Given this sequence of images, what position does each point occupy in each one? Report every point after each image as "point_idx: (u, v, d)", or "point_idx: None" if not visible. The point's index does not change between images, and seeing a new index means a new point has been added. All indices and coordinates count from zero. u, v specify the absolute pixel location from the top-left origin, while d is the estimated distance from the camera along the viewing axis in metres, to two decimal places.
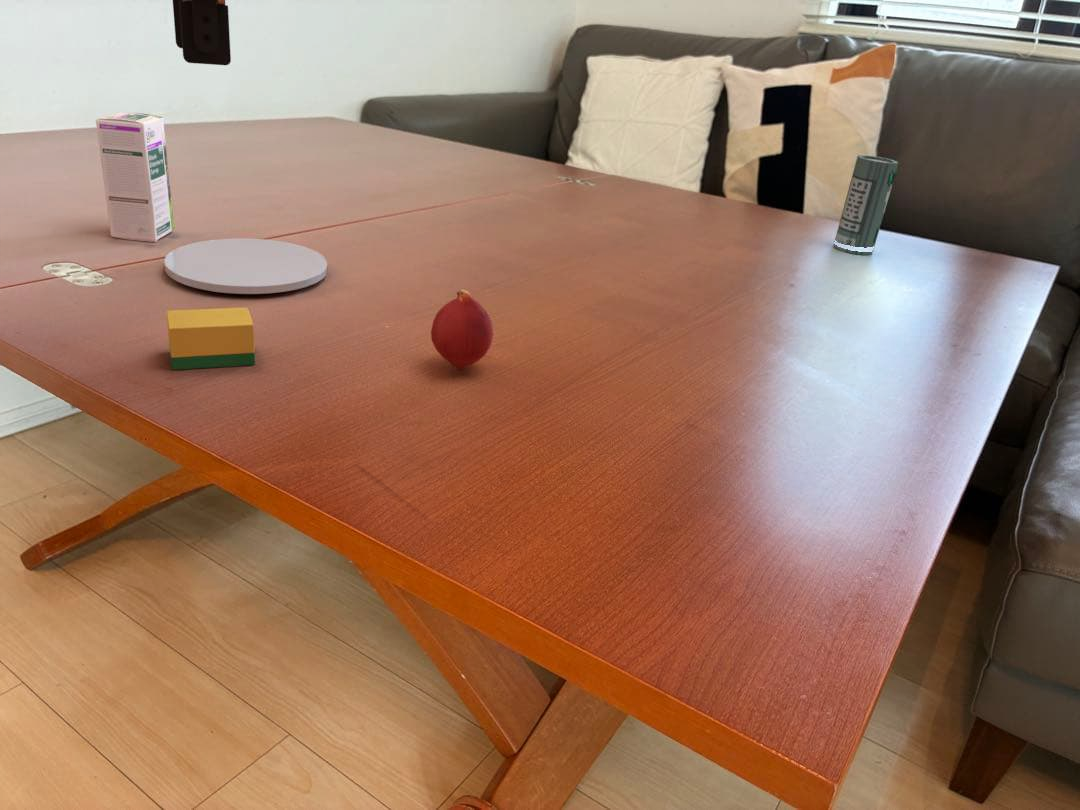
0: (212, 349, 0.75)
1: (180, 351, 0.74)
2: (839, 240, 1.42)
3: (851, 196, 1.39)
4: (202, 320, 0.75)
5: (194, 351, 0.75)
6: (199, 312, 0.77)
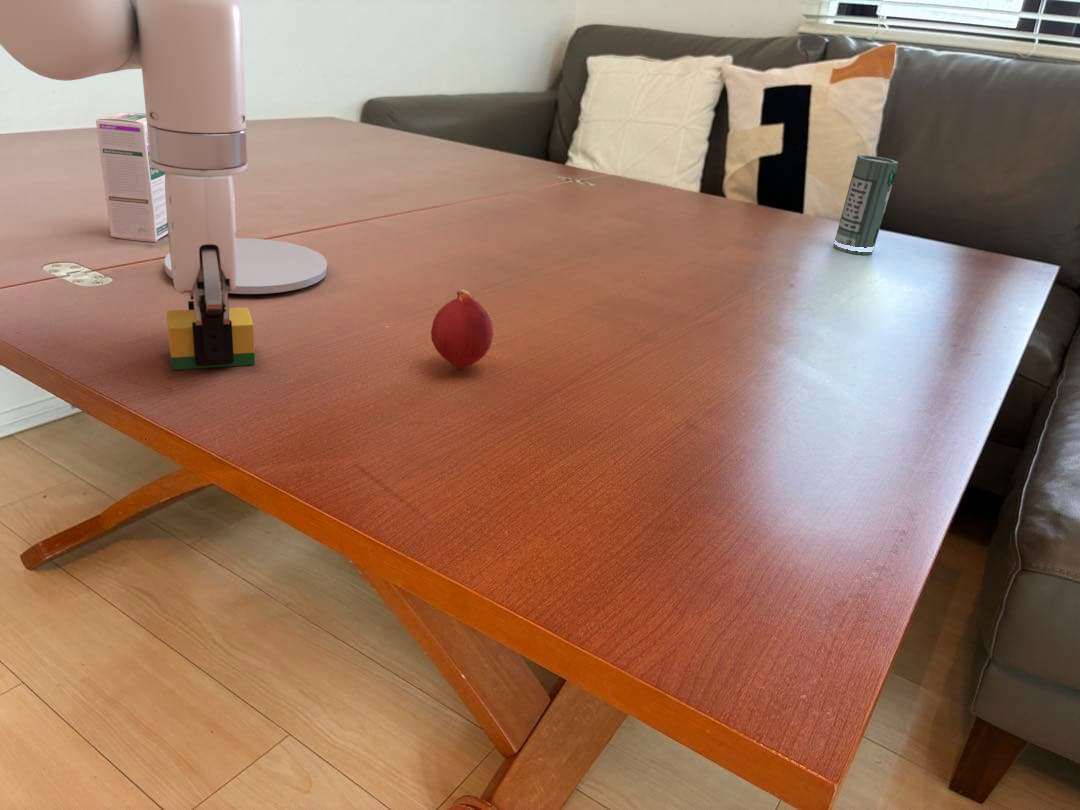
0: None
1: (180, 351, 0.74)
2: (839, 240, 1.42)
3: (851, 196, 1.39)
4: None
5: None
6: None
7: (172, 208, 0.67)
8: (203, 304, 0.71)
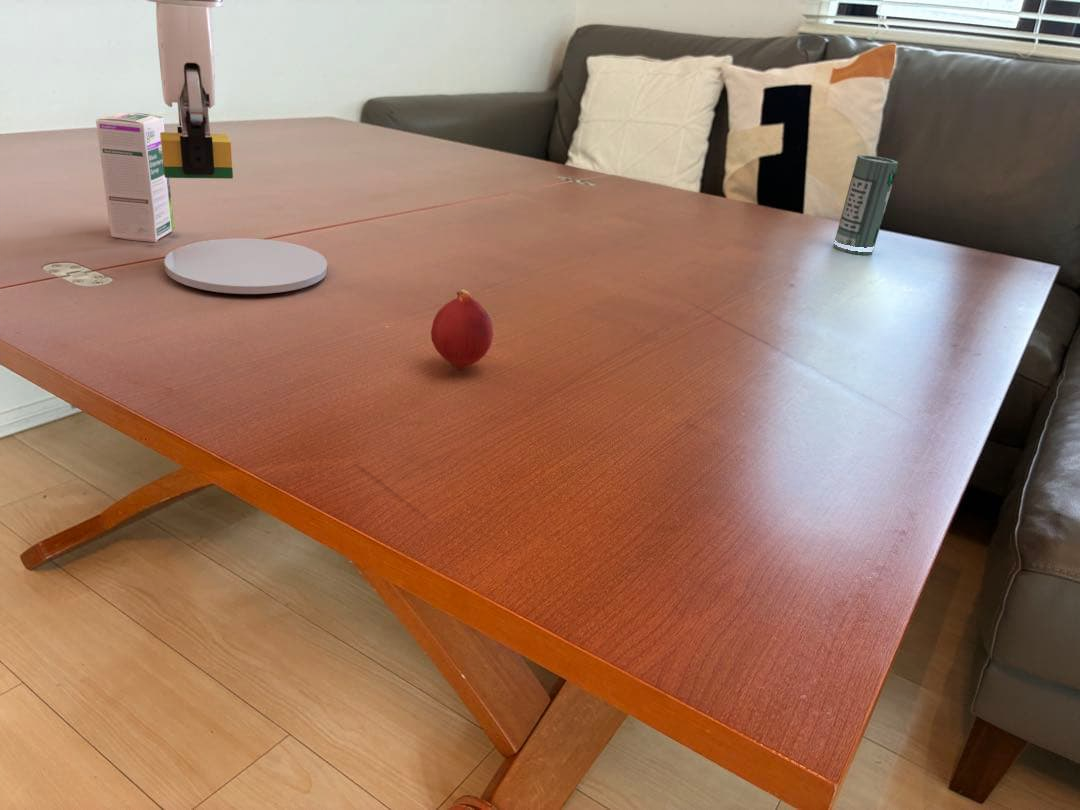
0: None
1: (171, 161, 0.91)
2: (839, 240, 1.42)
3: (851, 196, 1.39)
4: None
5: None
6: None
7: (161, 31, 0.84)
8: (188, 115, 0.88)
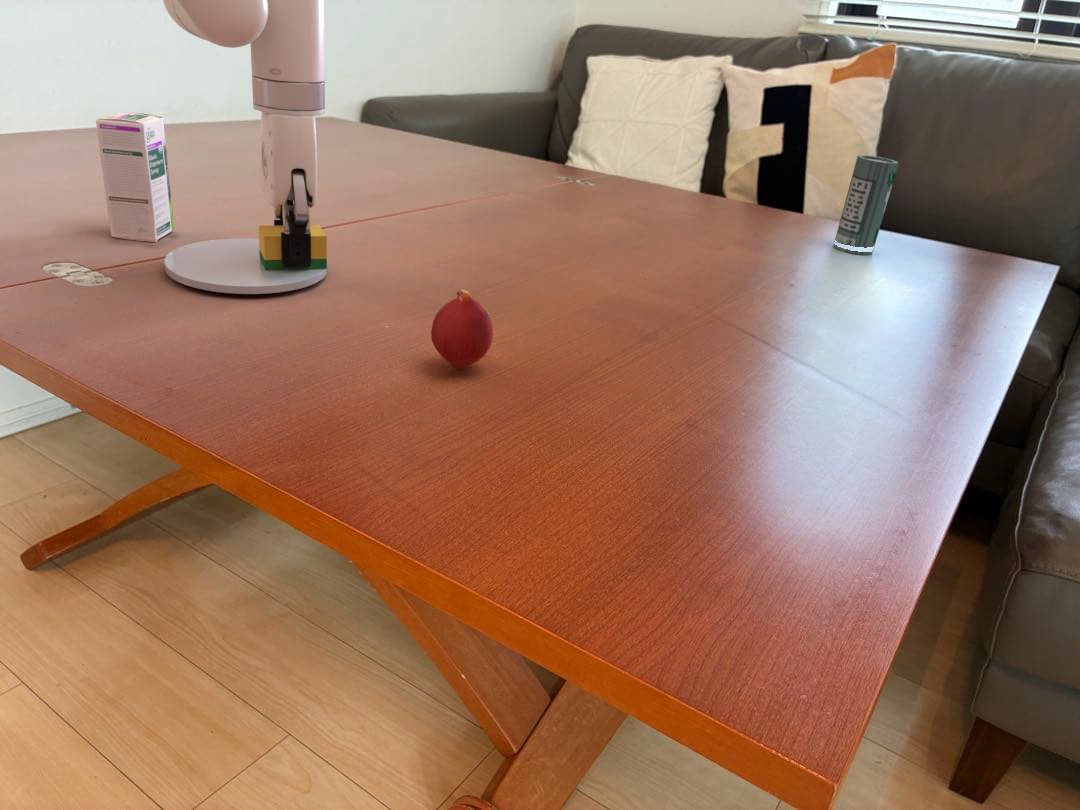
0: None
1: (271, 255, 0.96)
2: (839, 240, 1.42)
3: (851, 196, 1.39)
4: None
5: None
6: (283, 227, 0.99)
7: (272, 139, 0.89)
8: (292, 215, 0.92)
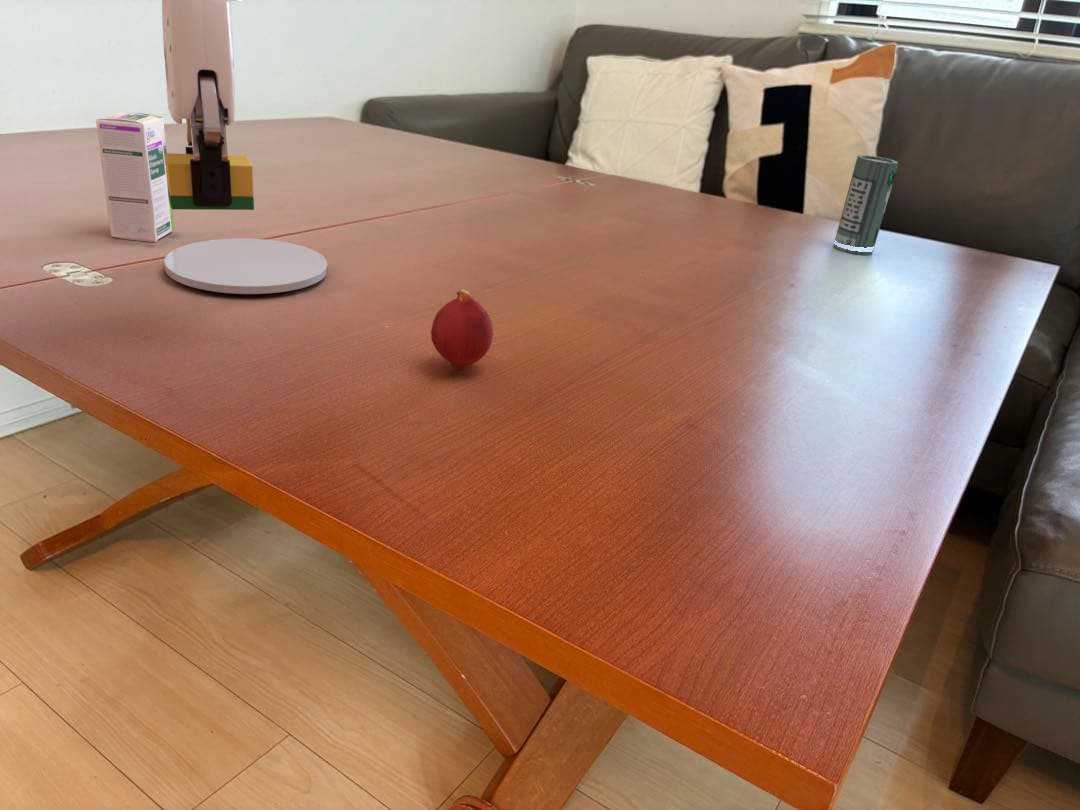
0: None
1: (179, 189, 0.74)
2: (839, 240, 1.42)
3: (851, 196, 1.39)
4: None
5: None
6: None
7: (170, 29, 0.67)
8: (201, 134, 0.71)
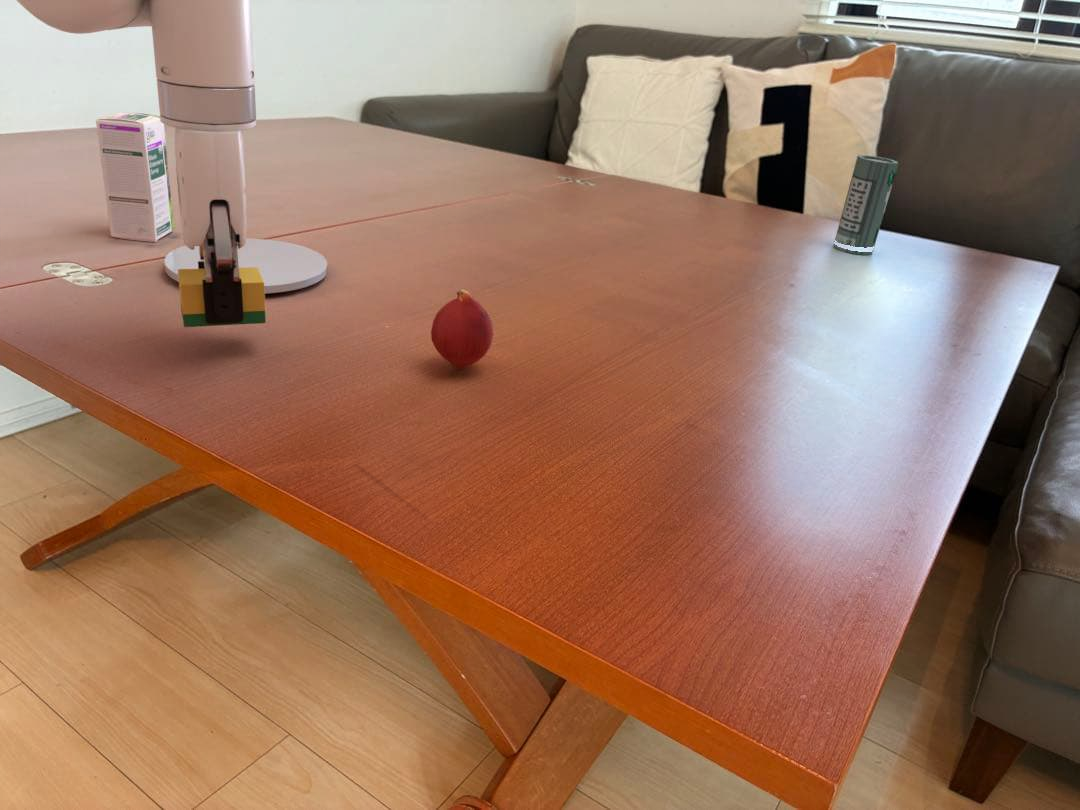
0: None
1: (192, 308, 0.75)
2: (839, 240, 1.42)
3: (851, 196, 1.39)
4: None
5: None
6: None
7: (182, 163, 0.68)
8: (213, 260, 0.71)
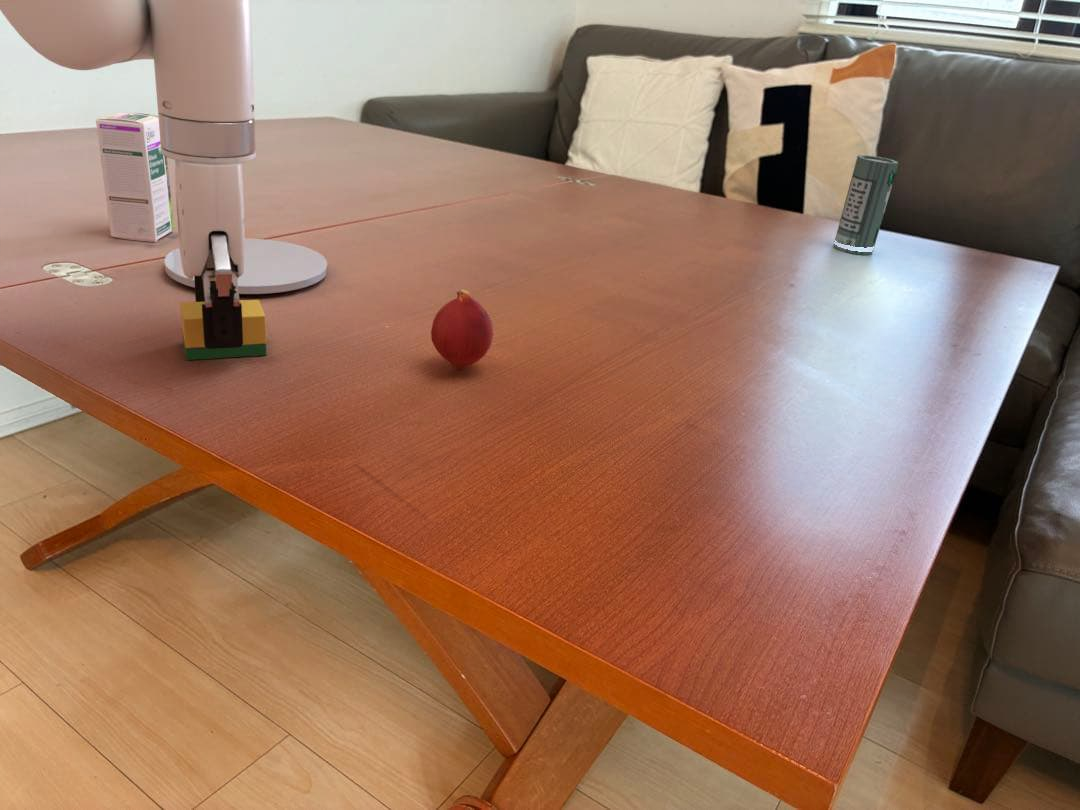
0: None
1: (194, 341, 0.77)
2: (839, 240, 1.42)
3: (851, 196, 1.39)
4: None
5: None
6: None
7: (182, 195, 0.69)
8: (213, 283, 0.70)
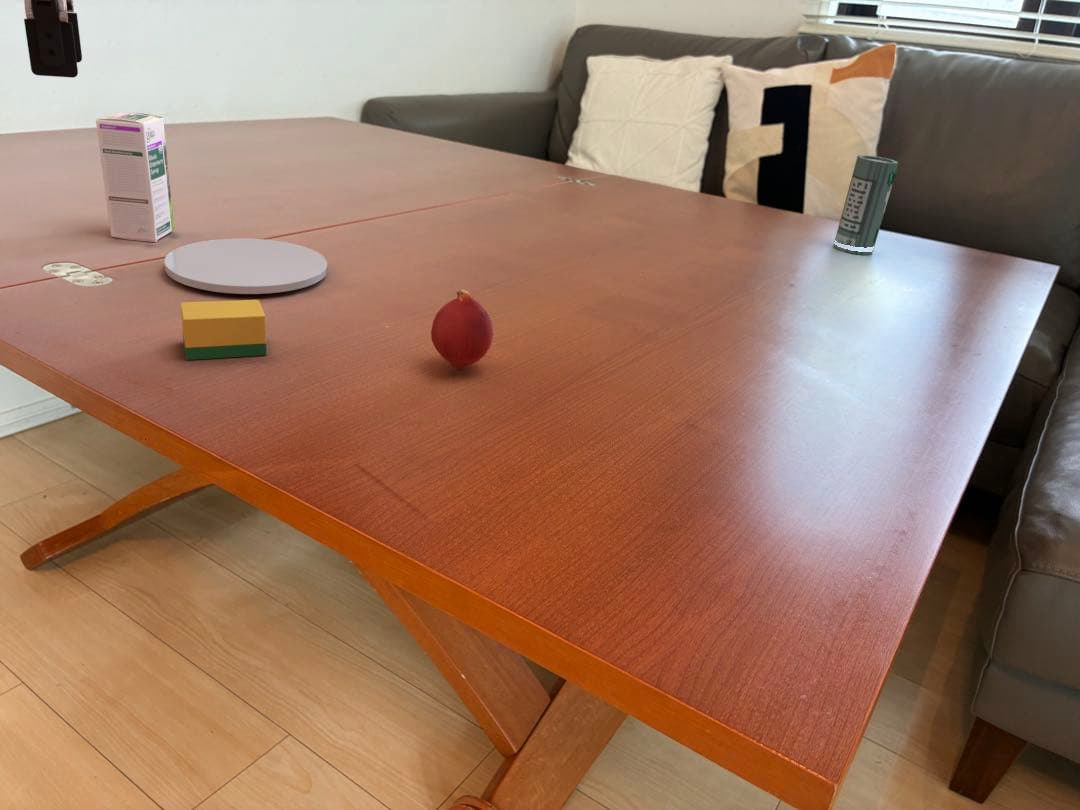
0: (225, 340, 0.78)
1: (194, 341, 0.77)
2: (839, 240, 1.42)
3: (851, 196, 1.39)
4: (215, 312, 0.78)
5: (208, 342, 0.77)
6: (212, 303, 0.79)
7: None
8: None
